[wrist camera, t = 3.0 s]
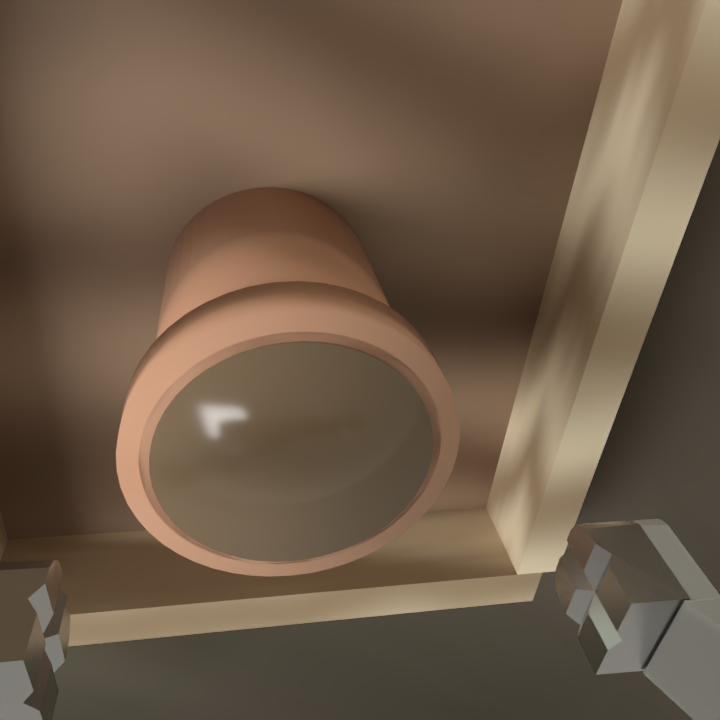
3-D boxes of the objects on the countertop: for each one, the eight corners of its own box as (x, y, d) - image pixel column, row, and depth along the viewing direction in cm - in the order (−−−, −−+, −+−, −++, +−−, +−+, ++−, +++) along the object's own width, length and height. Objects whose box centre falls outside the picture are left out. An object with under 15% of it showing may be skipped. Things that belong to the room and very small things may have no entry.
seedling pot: (368, 376, 22) (433, 567, 15) (159, 381, 21) (132, 592, 14) (393, 178, 19) (491, 313, 12) (142, 167, 17) (94, 314, 10)
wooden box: (508, 522, 28) (611, 729, 21) (-27, 560, 24) (-136, 838, 17) (708, -147, 16) (1125, -218, 9) (-305, -310, 12) (-1174, -720, 4)
